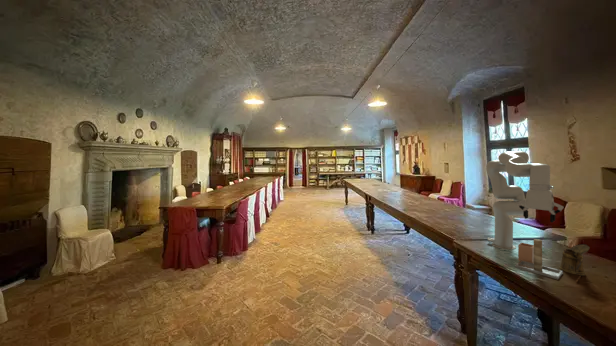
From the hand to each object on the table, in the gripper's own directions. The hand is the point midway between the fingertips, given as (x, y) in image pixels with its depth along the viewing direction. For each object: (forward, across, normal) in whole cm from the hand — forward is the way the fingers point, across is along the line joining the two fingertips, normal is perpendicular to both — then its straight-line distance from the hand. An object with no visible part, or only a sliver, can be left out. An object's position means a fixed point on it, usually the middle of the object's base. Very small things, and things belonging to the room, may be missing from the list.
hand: (538, 220), depth 120 cm
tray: (+28, 0, 0) cm, 28 cm away
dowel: (+27, 0, 0) cm, 27 cm away
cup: (+28, +7, -10) cm, 30 cm away
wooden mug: (+28, -11, -11) cm, 32 cm away
